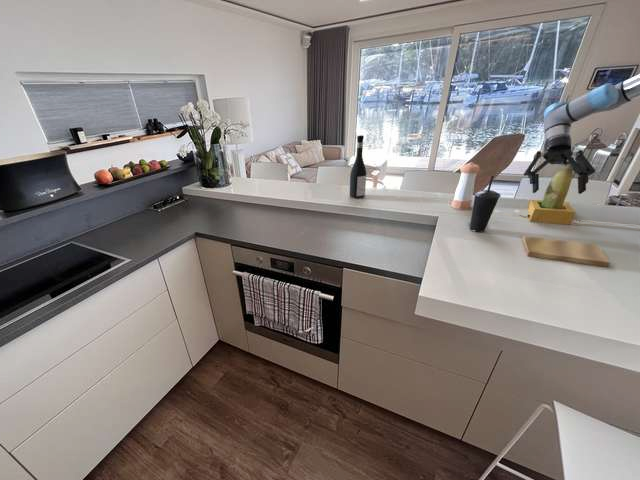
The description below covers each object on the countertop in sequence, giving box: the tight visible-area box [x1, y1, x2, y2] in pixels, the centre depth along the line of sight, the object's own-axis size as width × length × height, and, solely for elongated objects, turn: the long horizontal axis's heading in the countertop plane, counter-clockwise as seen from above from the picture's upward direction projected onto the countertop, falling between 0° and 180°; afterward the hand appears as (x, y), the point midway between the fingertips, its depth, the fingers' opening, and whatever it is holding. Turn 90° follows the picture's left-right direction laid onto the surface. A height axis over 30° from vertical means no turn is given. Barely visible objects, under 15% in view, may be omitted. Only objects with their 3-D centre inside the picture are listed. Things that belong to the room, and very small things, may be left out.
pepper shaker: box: [451, 161, 481, 210], centre depth 123 cm, size 7×7×19 cm
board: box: [522, 236, 611, 268], centre depth 89 cm, size 18×12×2 cm, turn 60°
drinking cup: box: [469, 175, 501, 232], centre depth 102 cm, size 8×8×20 cm
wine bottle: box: [349, 135, 367, 199], centre depth 145 cm, size 8×8×30 cm
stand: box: [526, 199, 576, 226], centre depth 110 cm, size 12×12×5 cm
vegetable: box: [541, 164, 574, 209], centre depth 106 cm, size 6×6×20 cm
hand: (558, 191), depth 105 cm, fingers open, 13 cm apart
